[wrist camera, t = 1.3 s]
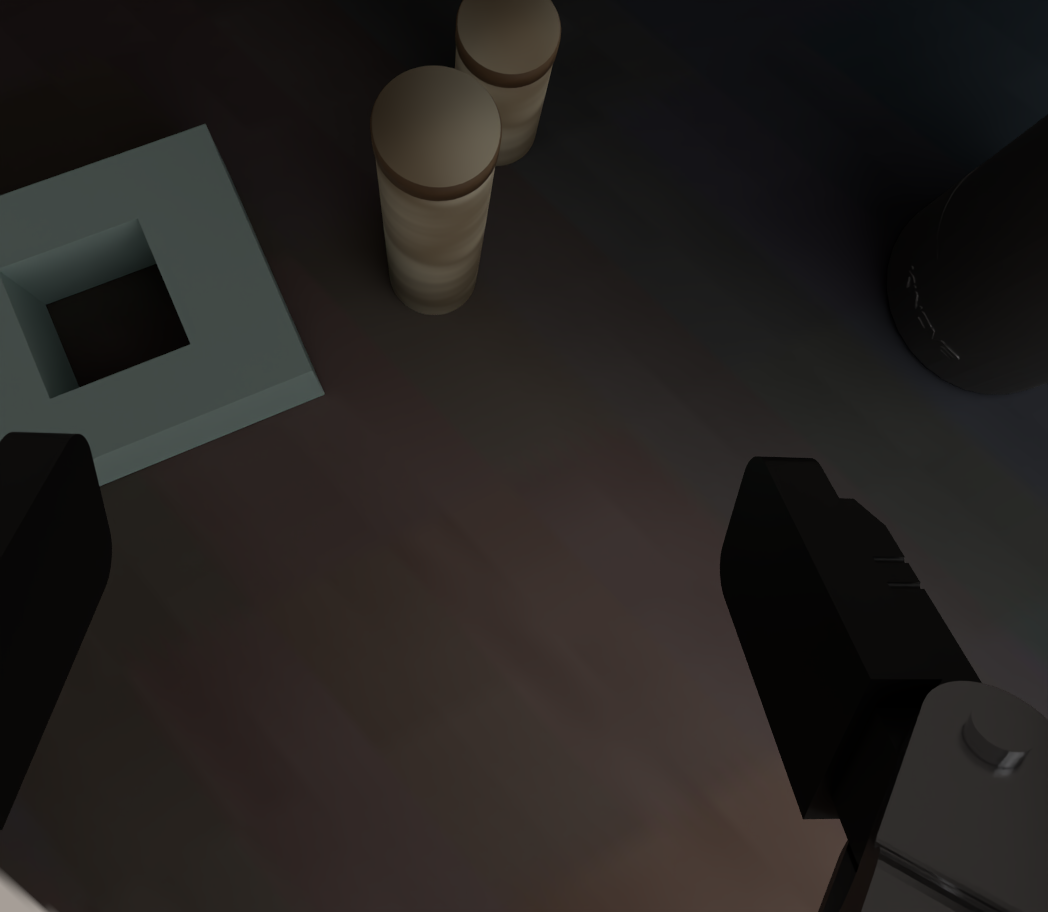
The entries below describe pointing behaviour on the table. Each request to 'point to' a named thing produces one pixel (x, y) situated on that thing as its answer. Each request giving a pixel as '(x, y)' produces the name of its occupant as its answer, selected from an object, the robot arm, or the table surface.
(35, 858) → the table surface
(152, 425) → the socket block
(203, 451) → the table surface
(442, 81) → the tall pin
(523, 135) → the short pin
